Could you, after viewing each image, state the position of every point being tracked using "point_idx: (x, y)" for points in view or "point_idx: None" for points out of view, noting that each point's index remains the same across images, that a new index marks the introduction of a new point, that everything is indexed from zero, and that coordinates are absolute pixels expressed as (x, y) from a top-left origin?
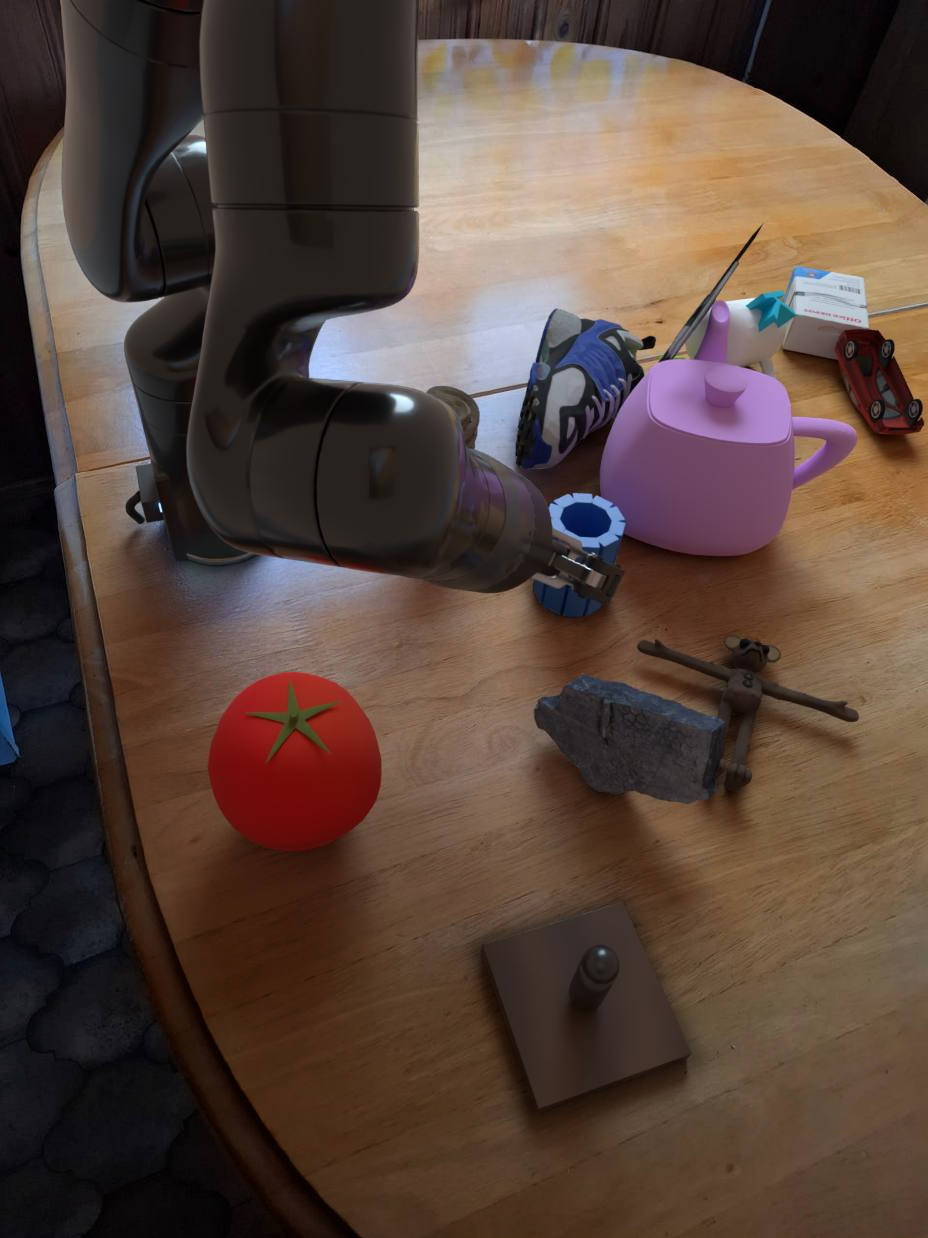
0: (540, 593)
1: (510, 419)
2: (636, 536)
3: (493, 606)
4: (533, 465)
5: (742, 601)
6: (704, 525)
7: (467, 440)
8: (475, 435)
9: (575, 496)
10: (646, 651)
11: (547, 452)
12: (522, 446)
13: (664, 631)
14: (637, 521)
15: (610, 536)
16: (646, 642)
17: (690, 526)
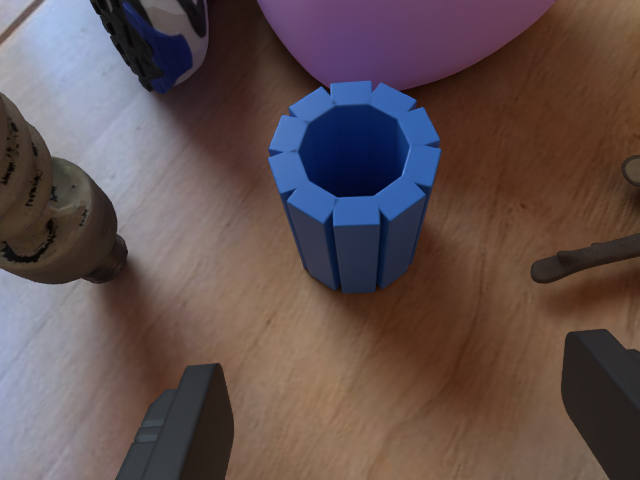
0: (330, 283)
1: (92, 21)
2: None
3: (276, 348)
4: (174, 82)
5: (571, 90)
6: (497, 16)
7: (10, 150)
8: (20, 126)
9: (298, 111)
10: (554, 280)
11: (182, 49)
12: (135, 61)
13: (524, 210)
14: (388, 73)
15: (422, 154)
16: (543, 265)
17: (476, 31)
